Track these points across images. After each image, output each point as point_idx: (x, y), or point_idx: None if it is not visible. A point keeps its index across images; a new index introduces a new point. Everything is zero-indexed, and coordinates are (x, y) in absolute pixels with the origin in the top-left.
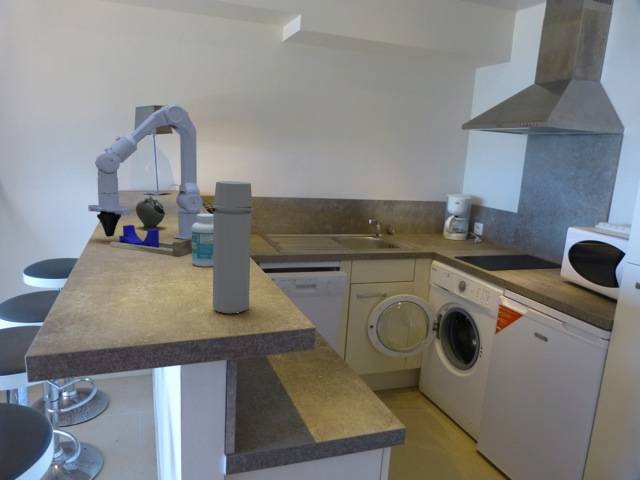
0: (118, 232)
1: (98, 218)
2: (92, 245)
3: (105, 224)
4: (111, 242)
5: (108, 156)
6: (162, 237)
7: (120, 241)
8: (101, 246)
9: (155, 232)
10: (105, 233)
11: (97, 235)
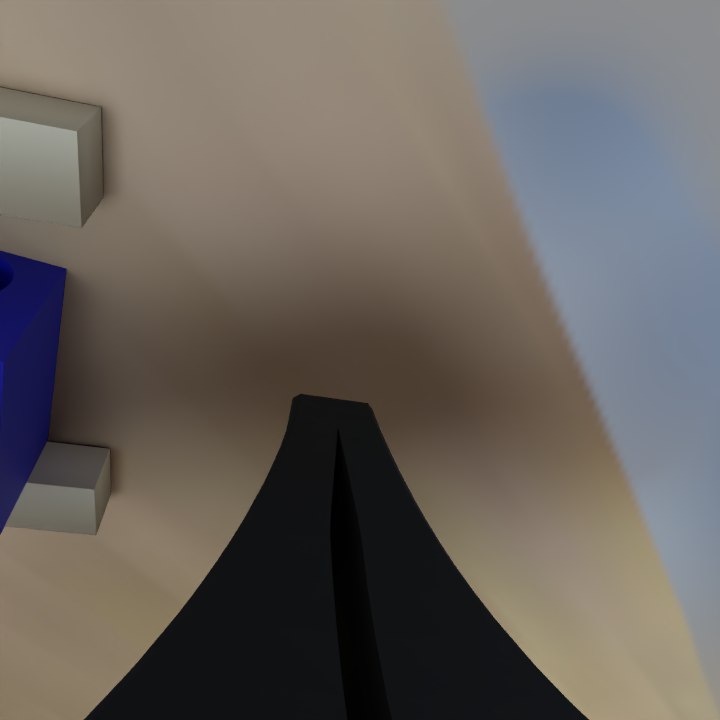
0: None
1: (571, 708)
2: (451, 67)
3: (357, 577)
4: (53, 142)
5: None
6: (4, 700)
7: (12, 296)
8: (244, 46)
9: None
10: (367, 427)
11: (669, 592)
